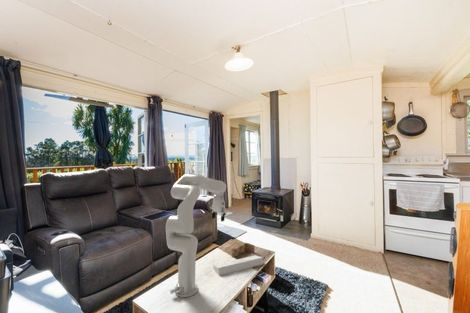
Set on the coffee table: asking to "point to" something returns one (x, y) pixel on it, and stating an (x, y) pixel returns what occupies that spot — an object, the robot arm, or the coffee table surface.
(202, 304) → the coffee table surface
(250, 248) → the wooden corner bracket
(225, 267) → the decorative molding
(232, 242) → the coffee table surface
